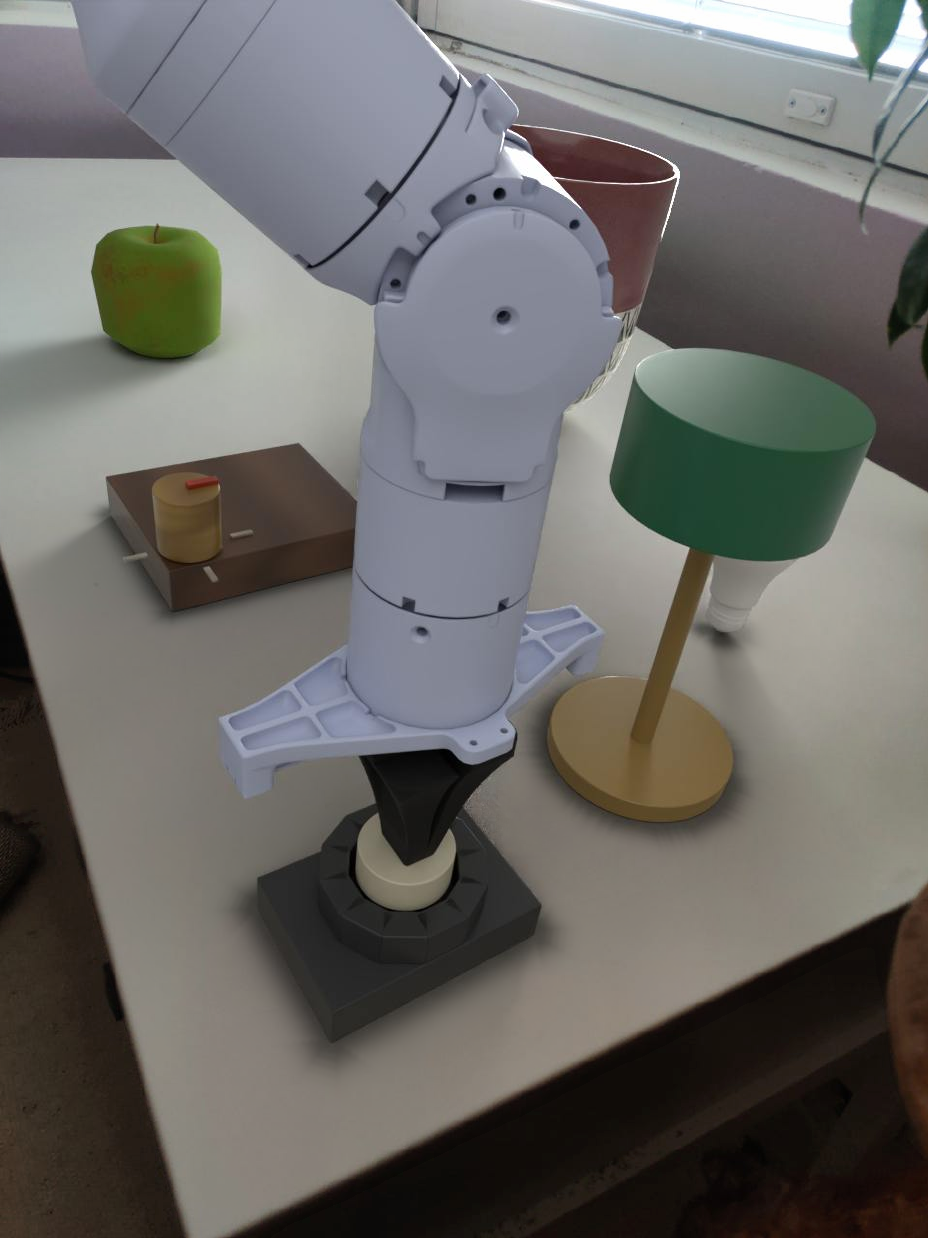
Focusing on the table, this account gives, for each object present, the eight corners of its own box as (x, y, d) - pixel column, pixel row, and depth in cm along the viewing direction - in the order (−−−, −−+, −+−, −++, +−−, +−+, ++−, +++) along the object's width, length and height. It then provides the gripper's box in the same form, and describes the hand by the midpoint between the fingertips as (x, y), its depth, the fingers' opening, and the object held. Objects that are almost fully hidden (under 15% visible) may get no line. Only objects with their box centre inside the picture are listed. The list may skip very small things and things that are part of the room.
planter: (453, 464, 75) (490, 178, 62) (380, 366, 89) (398, 116, 76) (658, 448, 82) (729, 188, 69) (560, 360, 96) (605, 130, 83)
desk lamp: (629, 851, 46) (763, 470, 33) (510, 723, 52) (585, 362, 39) (765, 781, 51) (926, 428, 38) (642, 672, 57) (746, 337, 44)
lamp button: (385, 927, 37) (388, 900, 36) (338, 854, 39) (339, 827, 38) (469, 887, 39) (475, 860, 38) (419, 820, 41) (423, 793, 40)
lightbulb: (774, 621, 63) (832, 477, 57) (758, 670, 59) (819, 520, 52) (687, 591, 65) (734, 447, 58) (664, 637, 60) (712, 487, 54)
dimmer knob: (170, 569, 54) (164, 505, 52) (148, 536, 57) (141, 473, 54) (232, 555, 56) (230, 492, 54) (208, 523, 59) (205, 462, 56)
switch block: (331, 1044, 36) (335, 987, 34) (257, 908, 41) (256, 849, 38) (534, 935, 41) (550, 878, 39) (449, 825, 46) (458, 768, 43)
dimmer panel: (150, 640, 54) (146, 596, 52) (79, 520, 63) (73, 479, 61) (391, 576, 62) (395, 535, 60) (298, 478, 71) (299, 440, 69)
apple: (197, 317, 93) (191, 202, 87) (244, 358, 87) (242, 237, 80) (83, 330, 88) (68, 207, 81) (125, 375, 81) (112, 245, 74)
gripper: (286, 713, 24) (284, 1006, 32) (693, 578, 31) (606, 845, 39) (185, 566, 28) (206, 857, 36) (561, 479, 35) (508, 737, 43)
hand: (407, 843), depth 38 cm, fingers closed
